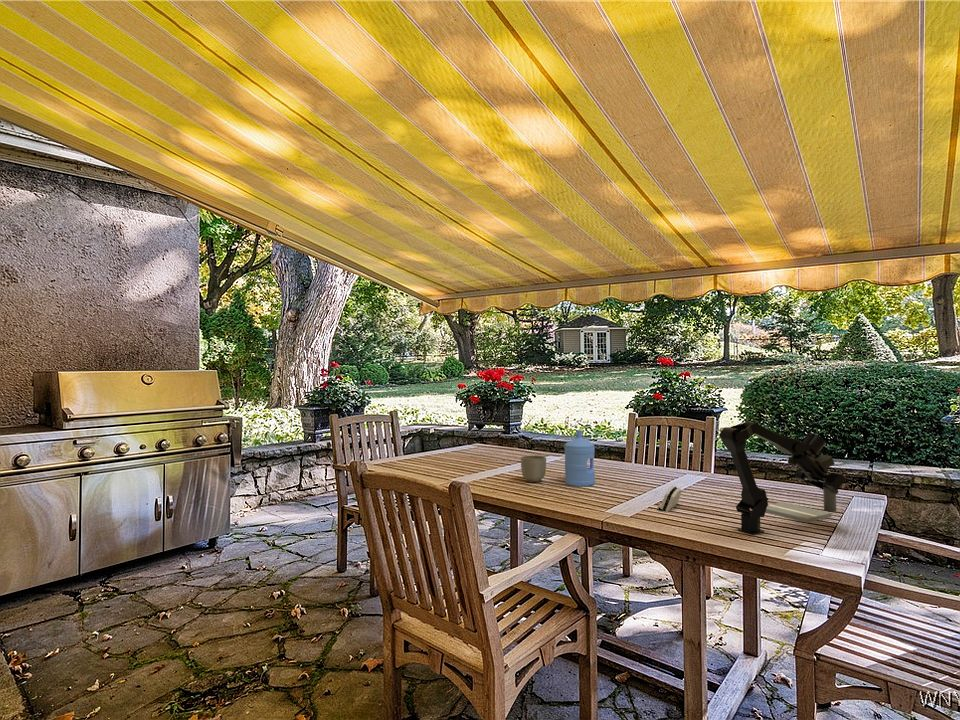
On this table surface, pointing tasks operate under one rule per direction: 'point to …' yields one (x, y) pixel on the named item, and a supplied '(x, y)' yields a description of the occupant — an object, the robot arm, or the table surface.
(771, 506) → the board
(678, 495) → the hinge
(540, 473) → the planter
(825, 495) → the bottle
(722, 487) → the table surface
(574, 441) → the water jug
